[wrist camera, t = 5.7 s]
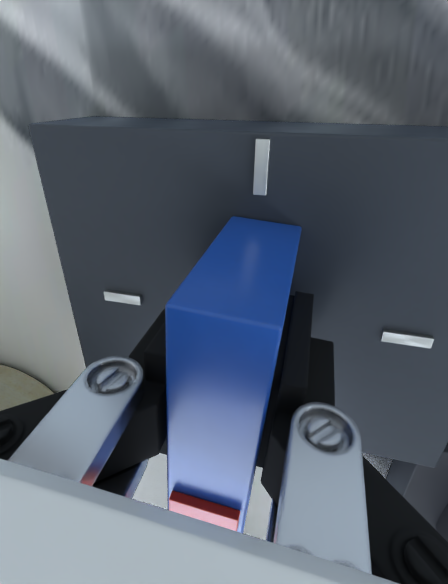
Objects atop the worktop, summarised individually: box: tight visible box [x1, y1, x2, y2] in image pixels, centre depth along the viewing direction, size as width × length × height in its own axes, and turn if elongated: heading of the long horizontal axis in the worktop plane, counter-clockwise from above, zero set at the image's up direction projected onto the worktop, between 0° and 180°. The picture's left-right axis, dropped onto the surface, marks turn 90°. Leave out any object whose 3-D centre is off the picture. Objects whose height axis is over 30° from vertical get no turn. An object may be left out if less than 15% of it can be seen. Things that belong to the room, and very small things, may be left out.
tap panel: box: [28, 116, 448, 468], centre depth 13 cm, size 14×11×4 cm
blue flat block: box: [165, 216, 302, 533], centre depth 9 cm, size 6×2×5 cm, turn 176°
